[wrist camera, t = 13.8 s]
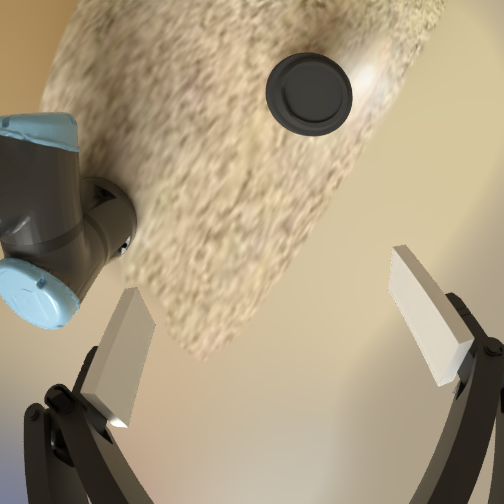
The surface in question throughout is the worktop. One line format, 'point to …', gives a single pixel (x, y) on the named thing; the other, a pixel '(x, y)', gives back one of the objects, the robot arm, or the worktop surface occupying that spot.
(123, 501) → the robot arm
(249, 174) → the worktop surface
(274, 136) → the worktop surface
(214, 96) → the worktop surface
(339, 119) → the coffee cup
